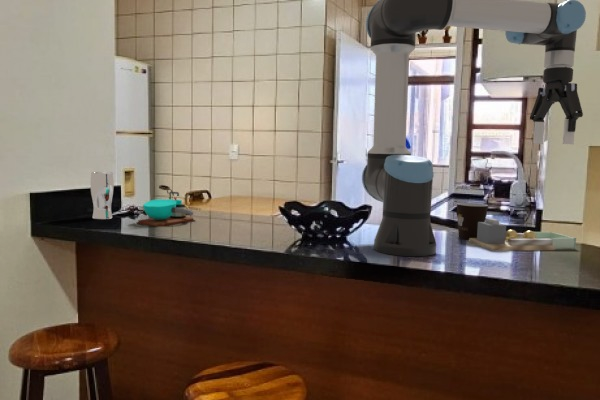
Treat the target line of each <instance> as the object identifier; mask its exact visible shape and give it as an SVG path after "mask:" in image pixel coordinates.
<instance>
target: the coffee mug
mask: <svg viewBox="0 0 600 400" xmlns="http://www.w3.org/2000/svg"><path fill="white" fill-rule="evenodd" d="M488 208H489V205H488V204H485V203H474V202H457V203H456V217H457V230H458V231H457V233H458V239H460V240H462V241H463V240H464V241H469V238H477V229H478V222H485V218H487V213H488Z"/></svg>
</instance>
